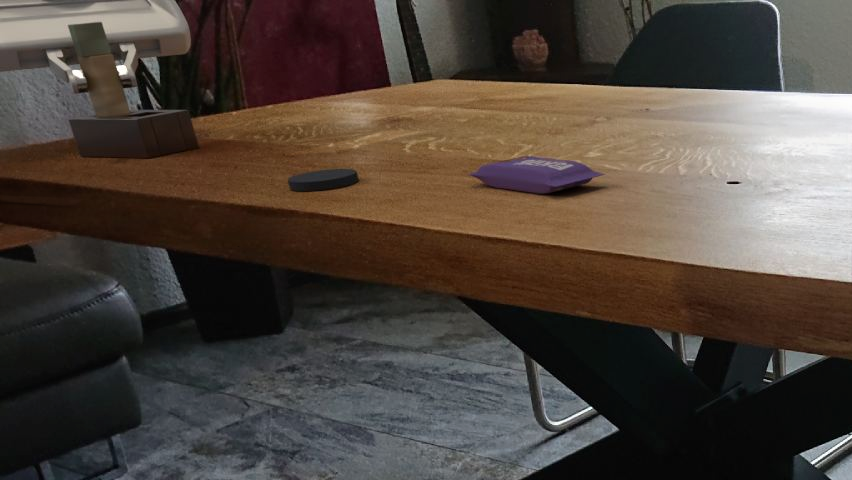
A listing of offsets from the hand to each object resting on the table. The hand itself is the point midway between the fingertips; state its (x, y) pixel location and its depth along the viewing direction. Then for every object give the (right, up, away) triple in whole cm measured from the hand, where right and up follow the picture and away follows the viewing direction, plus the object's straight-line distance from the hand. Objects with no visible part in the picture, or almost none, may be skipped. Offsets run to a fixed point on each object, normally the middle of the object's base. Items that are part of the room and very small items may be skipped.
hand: (105, 86), depth 117 cm
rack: (+2, -6, +3) cm, 7 cm away
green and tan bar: (0, -6, +3) cm, 7 cm away
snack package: (+53, -18, -29) cm, 63 cm away
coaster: (+33, -16, -22) cm, 43 cm away
